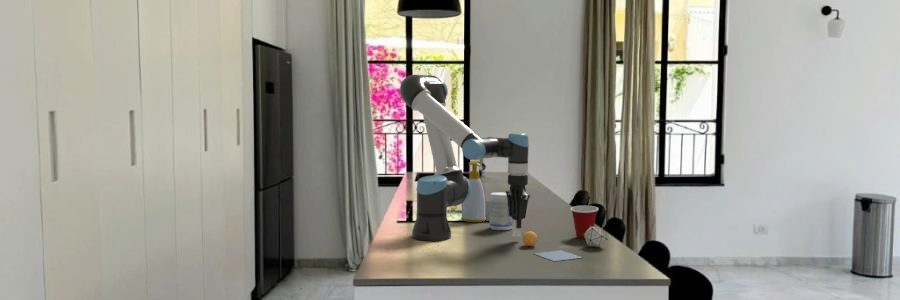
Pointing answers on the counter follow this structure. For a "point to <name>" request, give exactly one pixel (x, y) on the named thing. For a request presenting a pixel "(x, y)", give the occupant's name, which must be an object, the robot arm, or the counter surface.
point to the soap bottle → (474, 198)
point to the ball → (529, 238)
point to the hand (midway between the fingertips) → (516, 236)
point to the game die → (594, 236)
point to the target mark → (557, 255)
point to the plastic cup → (583, 219)
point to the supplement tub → (499, 212)
